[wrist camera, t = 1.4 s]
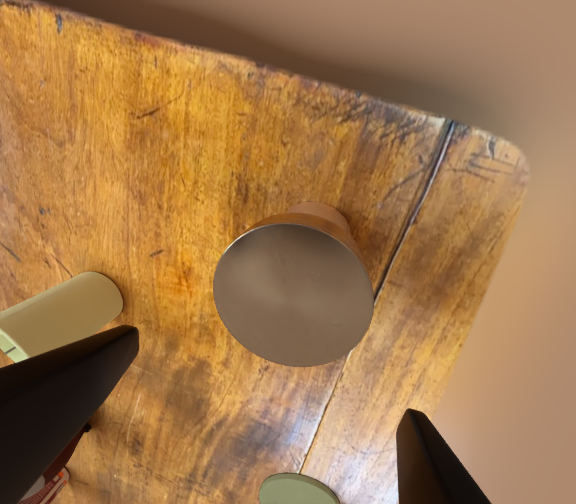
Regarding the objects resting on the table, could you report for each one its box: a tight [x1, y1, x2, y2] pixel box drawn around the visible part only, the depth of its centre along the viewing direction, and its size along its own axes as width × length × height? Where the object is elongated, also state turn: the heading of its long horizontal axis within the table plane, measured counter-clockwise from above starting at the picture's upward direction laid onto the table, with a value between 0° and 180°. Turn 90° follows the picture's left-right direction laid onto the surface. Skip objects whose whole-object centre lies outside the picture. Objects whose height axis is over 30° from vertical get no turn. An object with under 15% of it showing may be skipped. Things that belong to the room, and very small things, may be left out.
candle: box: [0, 271, 123, 363], centre depth 22 cm, size 5×5×8 cm
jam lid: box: [213, 213, 374, 367], centre depth 13 cm, size 7×7×2 cm
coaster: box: [259, 473, 339, 504], centre depth 30 cm, size 9×9×1 cm
